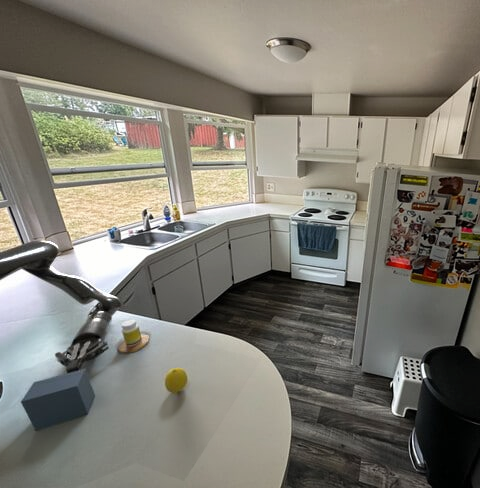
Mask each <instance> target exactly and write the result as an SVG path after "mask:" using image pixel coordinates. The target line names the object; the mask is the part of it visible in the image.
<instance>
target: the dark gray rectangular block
mask: <svg viewBox="0 0 480 488" xmlns="http://www.w3.org/2000/svg"><path fill="white" fill-rule="evenodd" d="M95 397H96V394H95V391H94V389H93V386H92V383H91V381H90V378H89V375H88V372H87V370H86V368H83V369H80V370H79V371H75V372H71V373H67V372H66V373H64V374H60V375H55V376H52V377H47V378H43V379H41V380H37V381H33V383H32V384H31V385H30V387H29V389H28V391H27V392H26V393H25V394H24V396H23V398H21V400H20V403H21V405H22V407H23V409H24V411H25V414H26V415H27V417H28V419H29V421H30V423H31V425H32V427H33V429H34V431H35V432H37V431H41V430H44V429H46V428H50V427H52V426H56V425H59V424H62V423H65V422H68V421H71V420H74V419H77V418H80V417H84V416H87V415H89V413H90V411H91V409H92V405H93V403H94V401H95Z"/></svg>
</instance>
